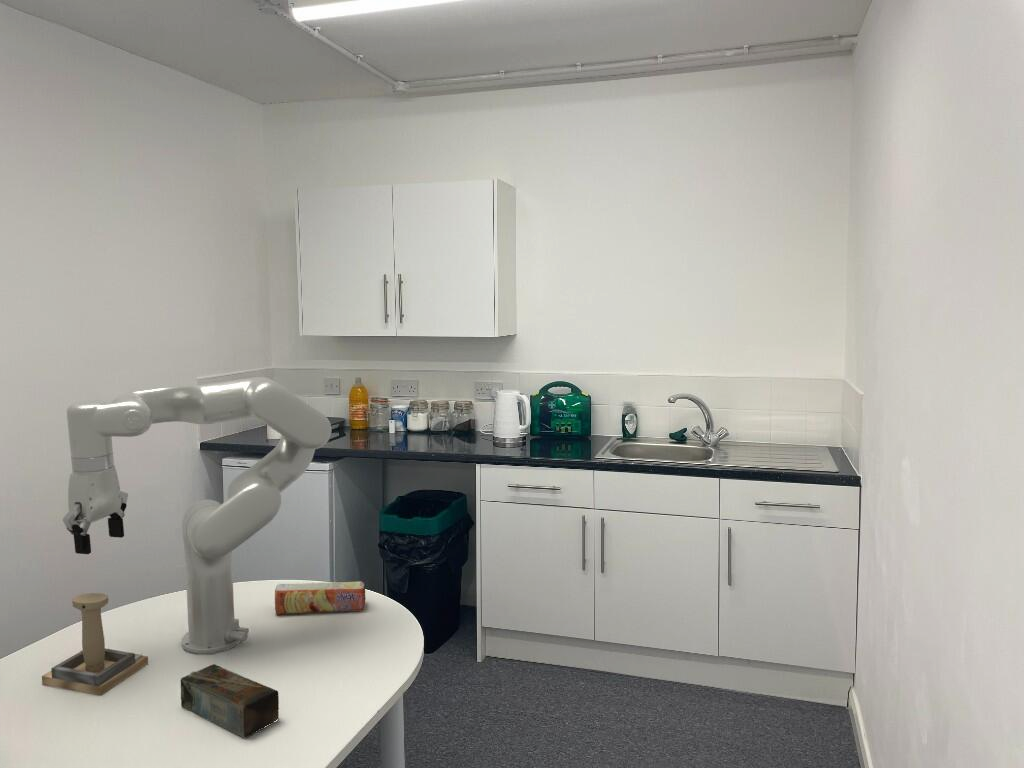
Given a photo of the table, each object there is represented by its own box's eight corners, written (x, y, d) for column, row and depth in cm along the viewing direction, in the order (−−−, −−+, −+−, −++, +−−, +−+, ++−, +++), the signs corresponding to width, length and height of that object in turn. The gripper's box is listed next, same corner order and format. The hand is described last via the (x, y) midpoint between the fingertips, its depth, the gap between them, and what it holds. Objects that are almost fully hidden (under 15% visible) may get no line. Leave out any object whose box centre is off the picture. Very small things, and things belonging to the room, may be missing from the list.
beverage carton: (216, 690, 161) (214, 658, 160) (281, 721, 151) (281, 687, 150) (179, 707, 155) (178, 674, 154) (245, 742, 144) (244, 706, 143)
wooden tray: (148, 664, 171) (147, 647, 170) (100, 695, 158) (99, 677, 158) (92, 655, 174) (91, 638, 174) (42, 684, 162) (40, 666, 162)
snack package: (365, 602, 204) (365, 576, 203) (364, 613, 197) (364, 586, 196) (277, 606, 201) (276, 580, 200) (273, 618, 194) (272, 590, 193)
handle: (103, 676, 162) (99, 603, 160) (72, 675, 162) (67, 602, 160) (117, 664, 167) (112, 593, 165) (86, 663, 167) (81, 592, 165)
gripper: (106, 452, 174) (113, 529, 177) (43, 473, 157) (52, 558, 160) (137, 453, 172) (144, 532, 175) (77, 475, 156) (86, 561, 158)
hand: (100, 544), depth 168 cm, fingers open, 9 cm apart
